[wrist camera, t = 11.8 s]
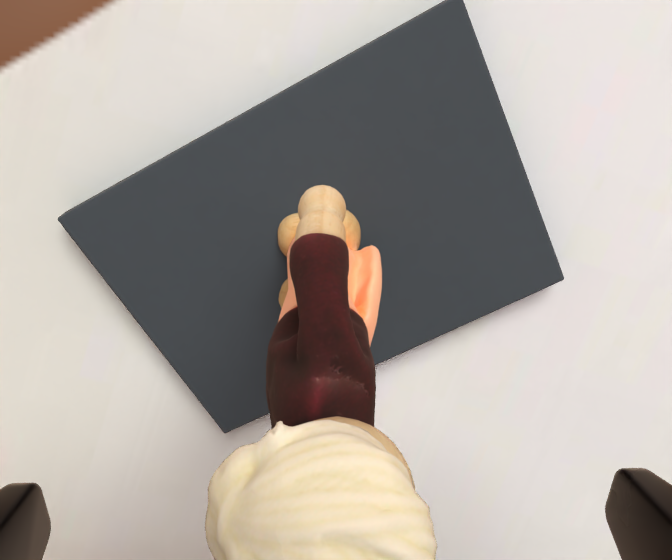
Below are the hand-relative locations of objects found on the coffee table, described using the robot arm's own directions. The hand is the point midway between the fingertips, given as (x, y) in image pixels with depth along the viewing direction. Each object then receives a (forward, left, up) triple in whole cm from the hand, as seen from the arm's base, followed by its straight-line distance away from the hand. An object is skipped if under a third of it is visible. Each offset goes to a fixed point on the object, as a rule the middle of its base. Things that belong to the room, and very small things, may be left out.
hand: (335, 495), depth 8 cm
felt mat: (0, 0, -11) cm, 11 cm away
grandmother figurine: (0, 0, -11) cm, 11 cm away
